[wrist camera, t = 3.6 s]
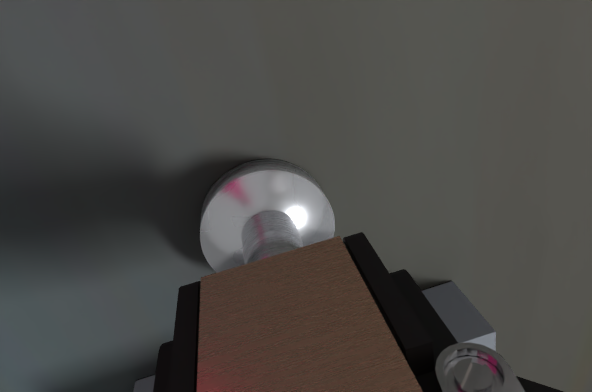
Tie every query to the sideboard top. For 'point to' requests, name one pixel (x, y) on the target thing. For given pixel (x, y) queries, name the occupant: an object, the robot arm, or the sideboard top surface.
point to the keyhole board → (448, 306)
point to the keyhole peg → (286, 293)
